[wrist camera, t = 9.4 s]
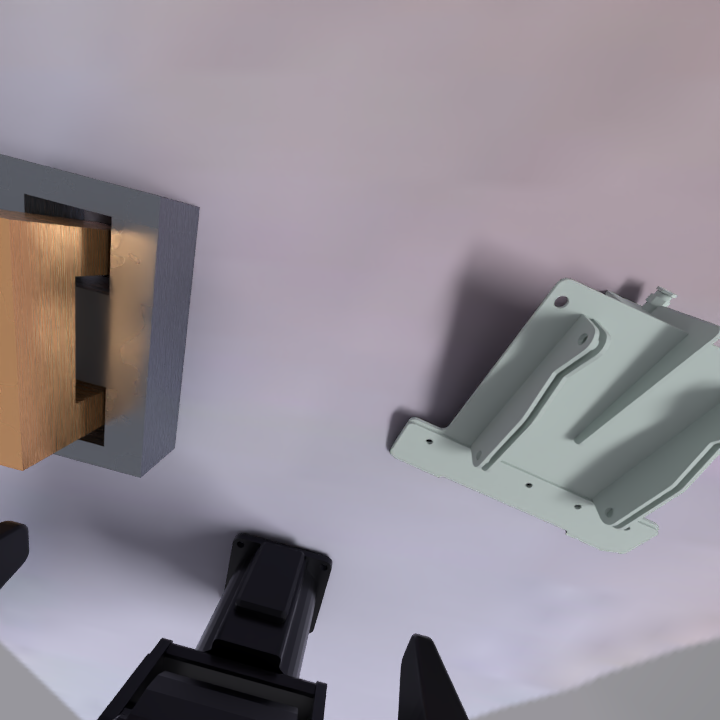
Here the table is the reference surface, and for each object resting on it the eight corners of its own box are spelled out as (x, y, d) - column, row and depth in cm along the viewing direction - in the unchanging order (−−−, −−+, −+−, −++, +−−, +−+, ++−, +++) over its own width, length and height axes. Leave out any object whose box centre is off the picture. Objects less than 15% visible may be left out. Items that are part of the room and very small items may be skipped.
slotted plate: (174, 448, 21) (140, 477, 18) (50, 414, 21) (-4, 438, 18) (199, 207, 17) (160, 196, 14) (45, 166, 17) (-25, 147, 14)
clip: (134, 407, 20) (22, 470, 14) (94, 396, 21) (-35, 455, 14) (143, 234, 18) (8, 219, 11) (97, 222, 18) (-63, 200, 11)
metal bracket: (543, 244, 11) (940, 429, 12) (512, 217, 16) (793, 347, 17) (376, 489, 19) (617, 593, 19) (389, 420, 24) (582, 505, 24)
